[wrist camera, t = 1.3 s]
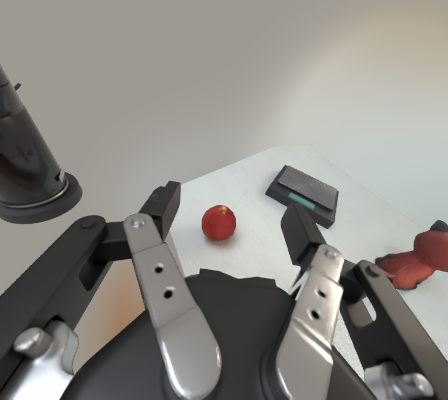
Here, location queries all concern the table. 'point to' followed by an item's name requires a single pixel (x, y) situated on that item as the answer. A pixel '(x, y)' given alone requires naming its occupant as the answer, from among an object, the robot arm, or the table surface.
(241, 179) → the table surface
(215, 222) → the onion
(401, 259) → the stuffed fox
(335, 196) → the scale
